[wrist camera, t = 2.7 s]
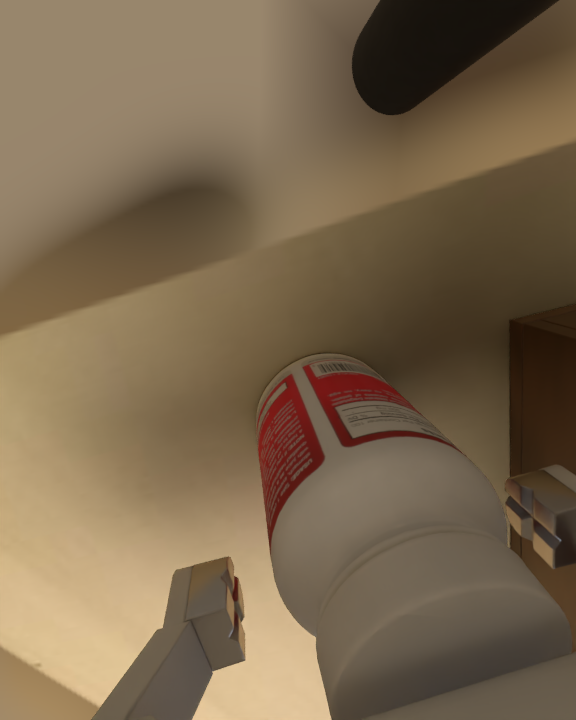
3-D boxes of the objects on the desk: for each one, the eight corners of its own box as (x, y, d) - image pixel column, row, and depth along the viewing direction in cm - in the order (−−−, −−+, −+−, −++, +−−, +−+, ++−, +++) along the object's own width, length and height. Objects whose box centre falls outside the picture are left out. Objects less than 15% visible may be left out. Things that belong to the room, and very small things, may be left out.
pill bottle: (290, 491, 18) (363, 831, 8) (230, 389, 16) (218, 666, 6) (404, 434, 18) (636, 704, 8) (358, 324, 16) (588, 487, 6)
